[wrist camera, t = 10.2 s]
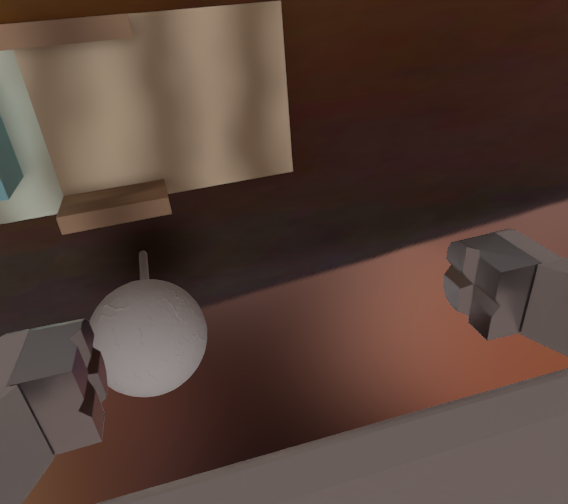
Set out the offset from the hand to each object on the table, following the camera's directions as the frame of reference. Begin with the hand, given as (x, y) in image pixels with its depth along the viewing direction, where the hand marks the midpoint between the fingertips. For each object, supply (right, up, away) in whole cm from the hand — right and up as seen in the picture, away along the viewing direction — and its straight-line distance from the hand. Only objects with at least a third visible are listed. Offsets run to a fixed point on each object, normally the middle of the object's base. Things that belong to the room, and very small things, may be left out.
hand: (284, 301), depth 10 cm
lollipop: (-12, +1, +27) cm, 30 cm away
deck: (-17, +10, +21) cm, 29 cm away
